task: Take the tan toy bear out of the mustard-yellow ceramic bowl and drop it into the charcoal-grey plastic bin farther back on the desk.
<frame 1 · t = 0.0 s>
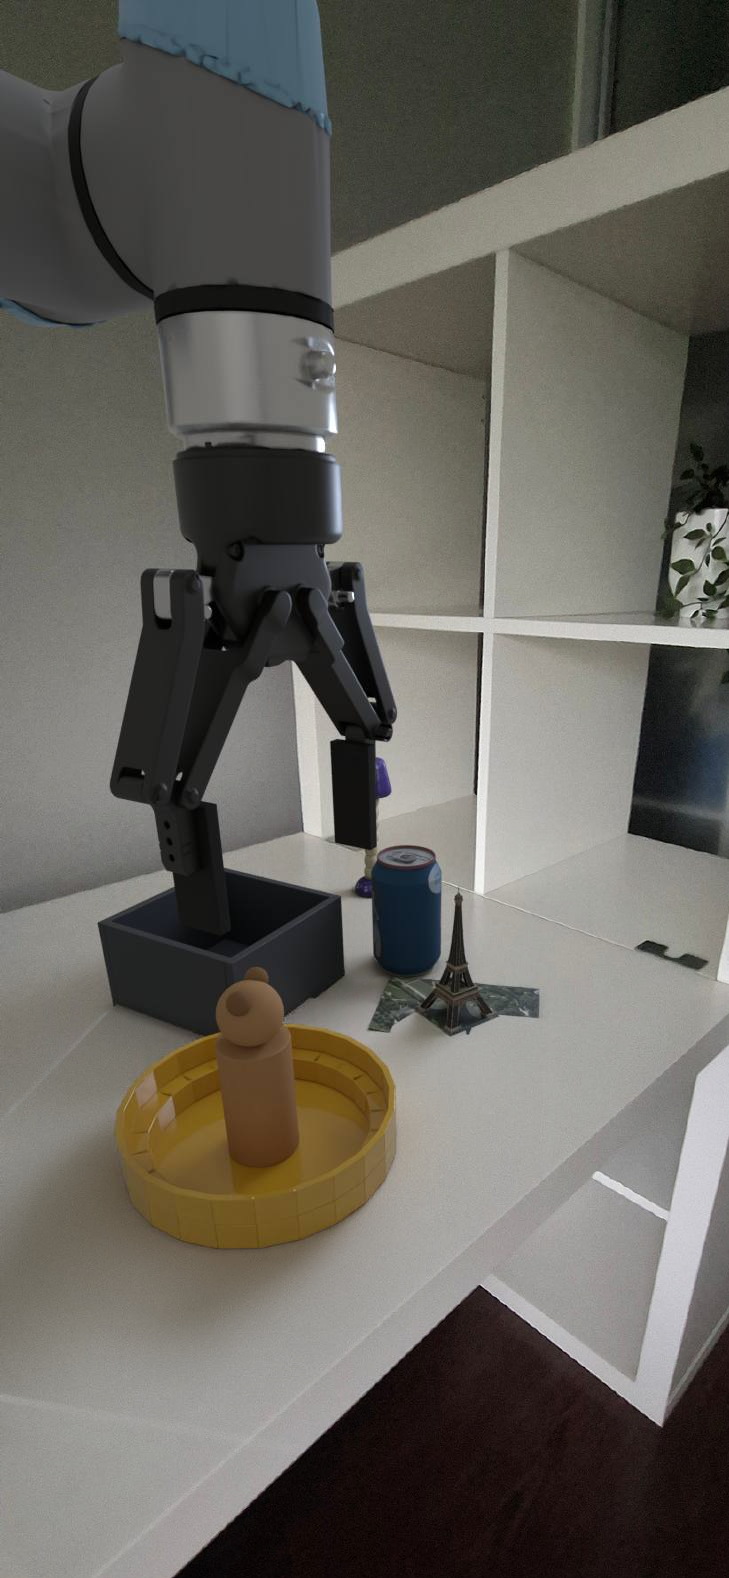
hand: (289, 881, 46), 22 cm above the table, tool pointing down, fingers open, 13 cm apart
toy bear: (264, 1143, 58), resting on bowl
soda can: (407, 965, 83), on the table
toy lamp: (373, 893, 100), on the table
eiffel tower figurine: (458, 1015, 74), on the table
bowl: (264, 1148, 58), on the table
bin: (233, 990, 78), on the table
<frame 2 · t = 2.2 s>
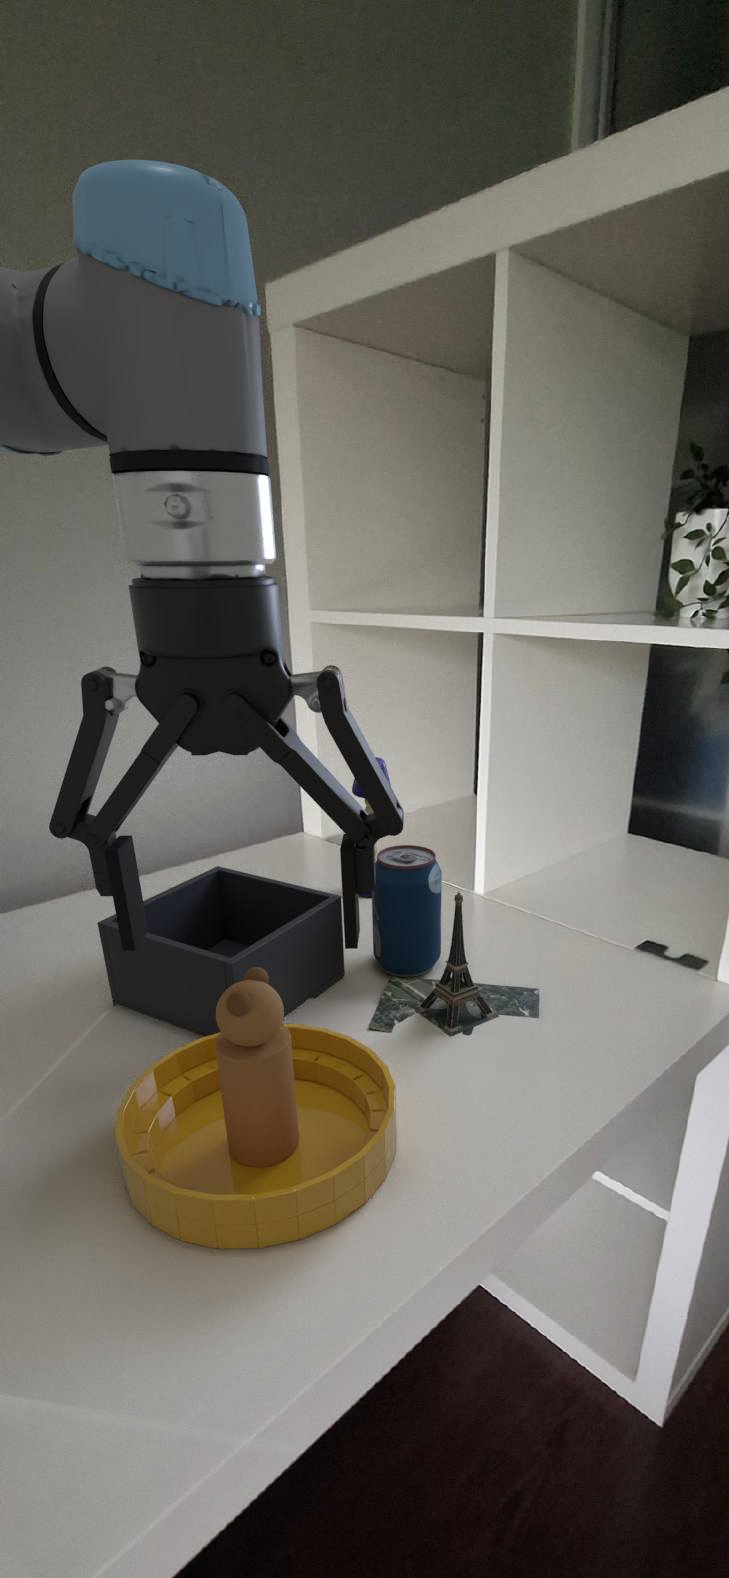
hand: (244, 940, 50), 17 cm above the table, tool pointing down, fingers open, 13 cm apart
nothing on the table moved.
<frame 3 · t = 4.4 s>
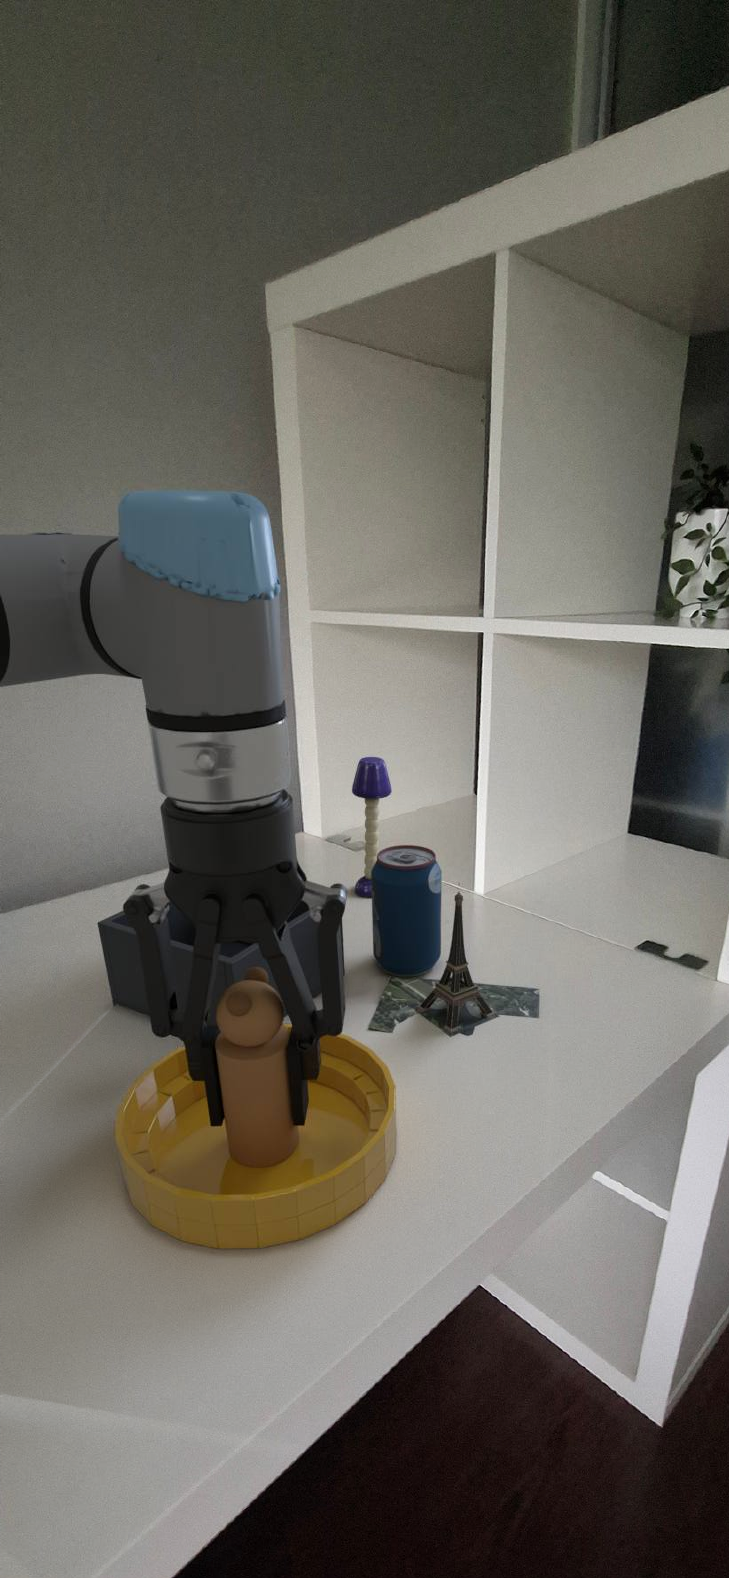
hand: (260, 1112, 56), 3 cm above the table, tool pointing down, fingers closed on toy bear, 5 cm apart
toy bear: (264, 1143, 58), point 1 cm above the table, touching bowl, gripper
everything else where it was.
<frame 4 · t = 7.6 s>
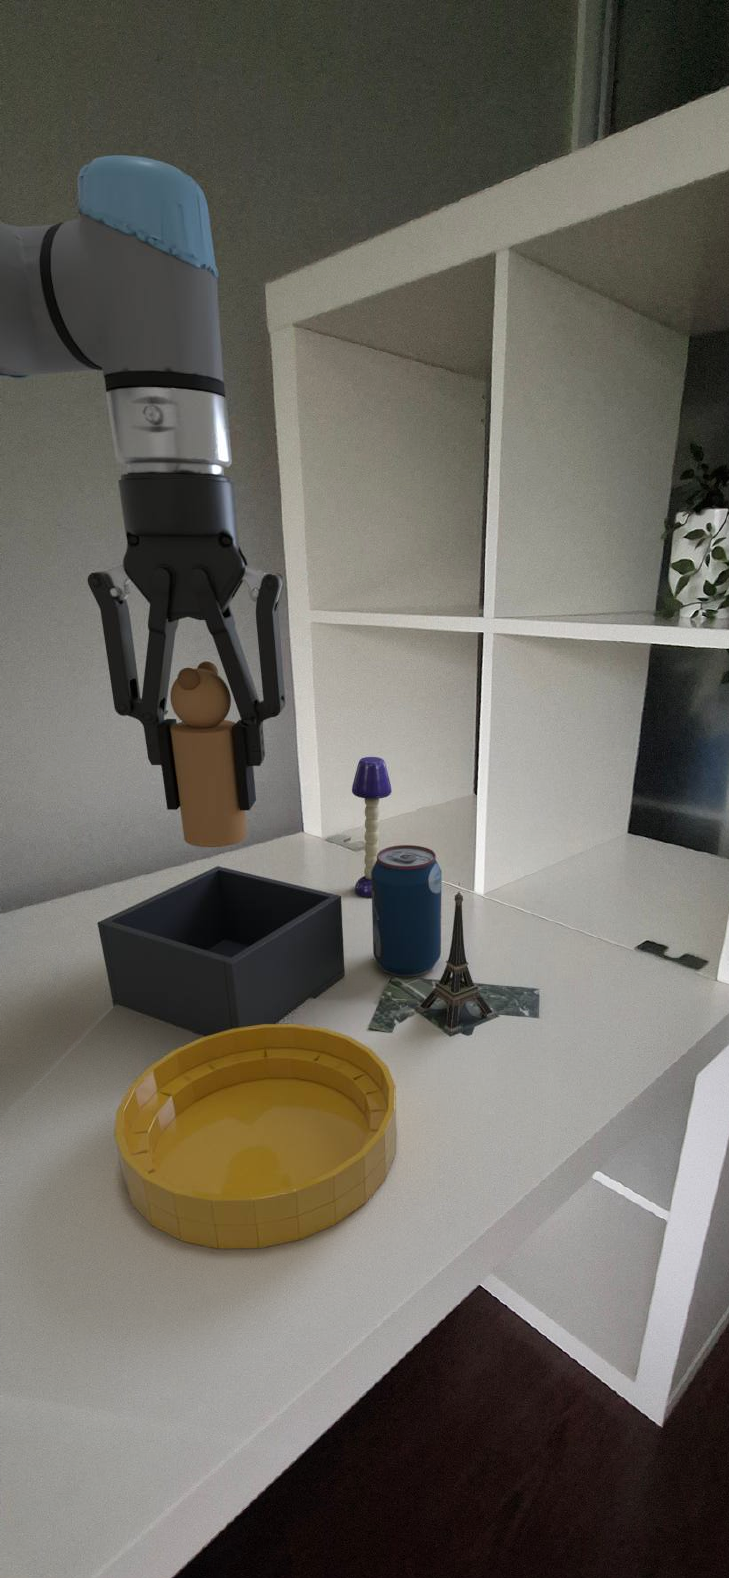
hand: (212, 804, 64), 21 cm above the table, tool pointing down, fingers closed on toy bear, 5 cm apart
toy bear: (216, 836, 65), point 18 cm above the table, touching gripper
everything else where it was.
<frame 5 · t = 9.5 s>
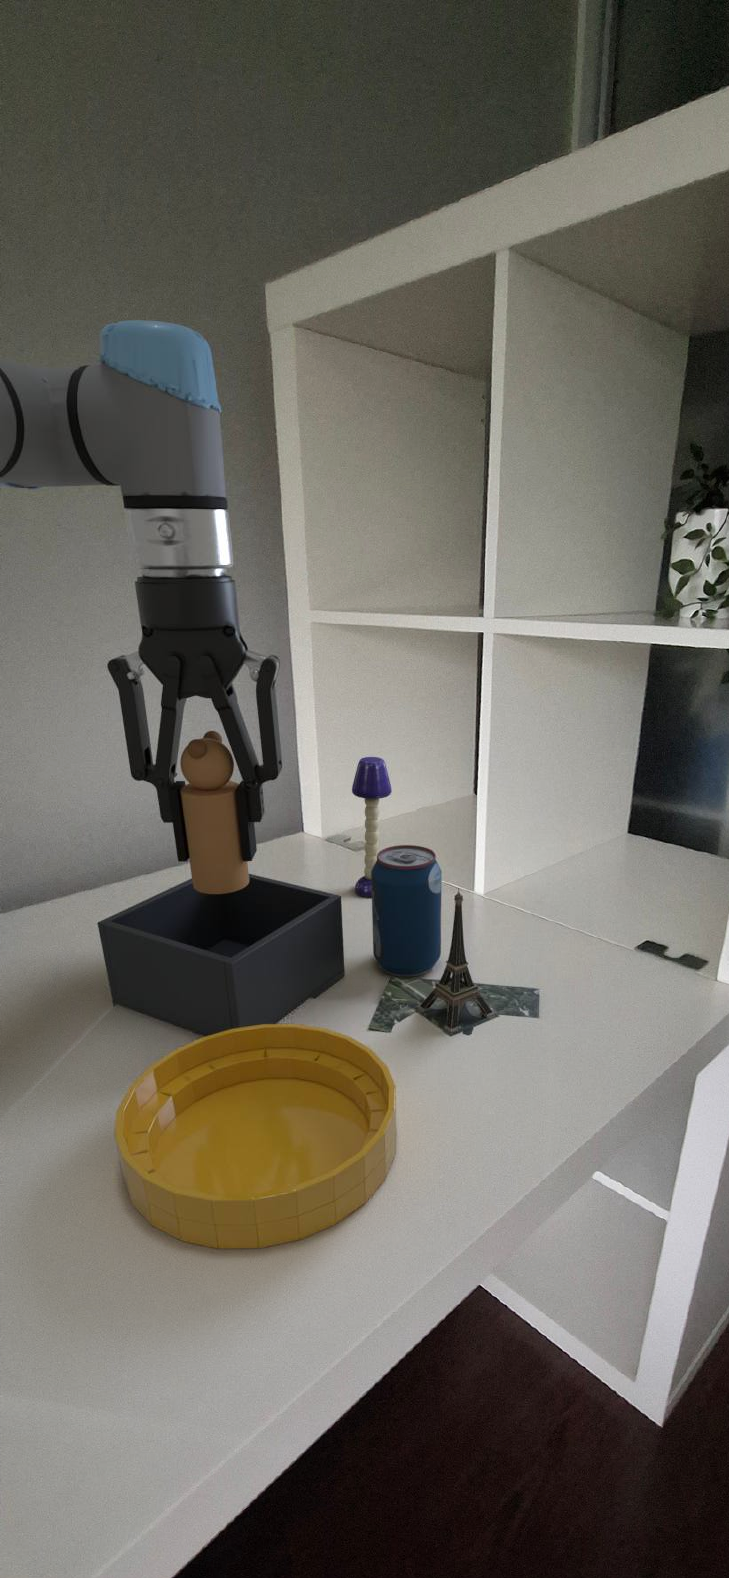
hand: (218, 855, 72), 14 cm above the table, tool pointing down, fingers closed on toy bear, 5 cm apart
toy bear: (221, 883, 73), point 11 cm above the table, touching gripper
everything else where it was.
when the fingers open (10 cm above the table, at t = 11.1 s): toy bear drops 6 cm, resting on bin.
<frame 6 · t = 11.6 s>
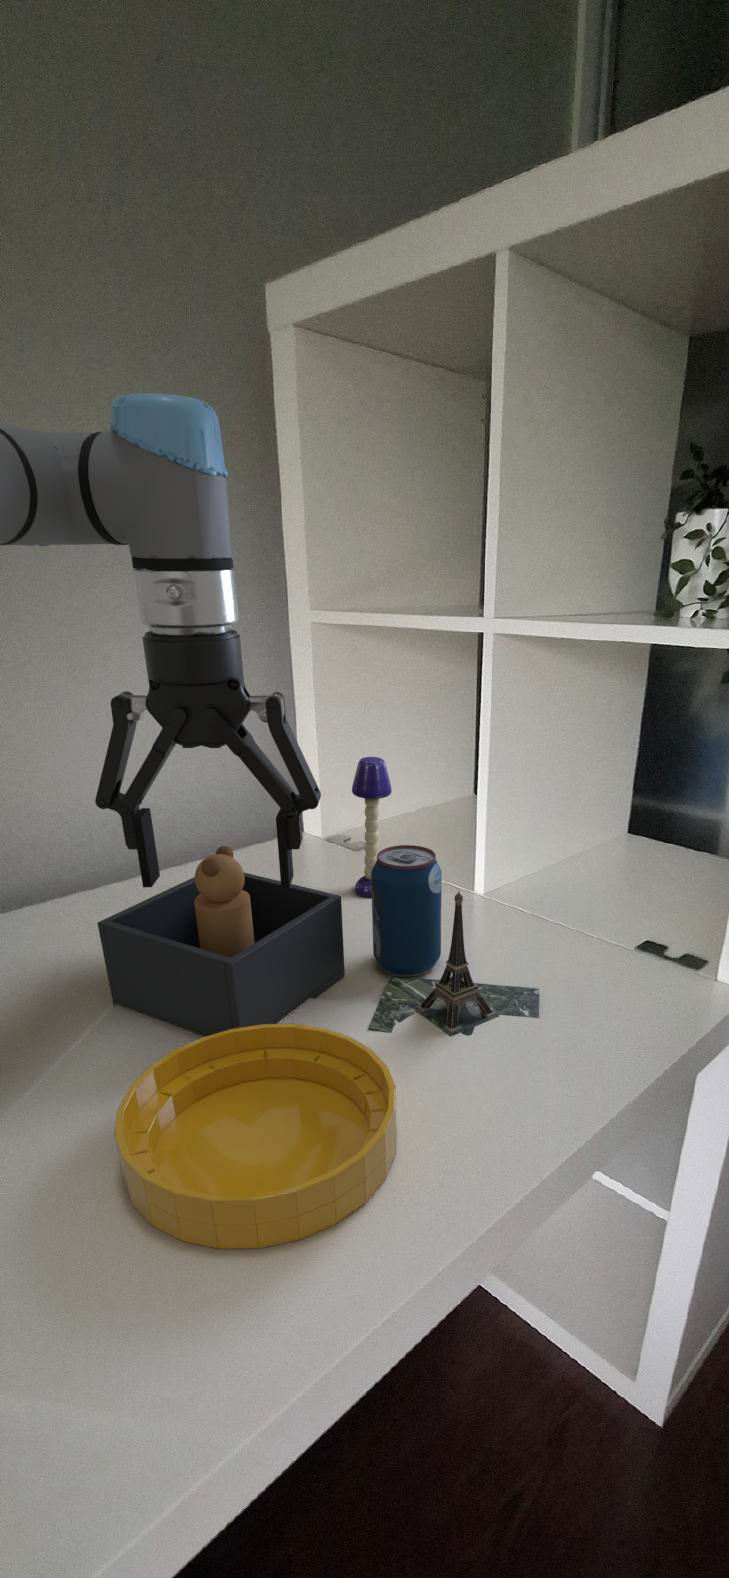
hand: (219, 881, 73), 11 cm above the table, tool pointing down, fingers open, 12 cm apart
toy bear: (232, 983, 78), point 1 cm above the table, touching bin
everything else where it was.
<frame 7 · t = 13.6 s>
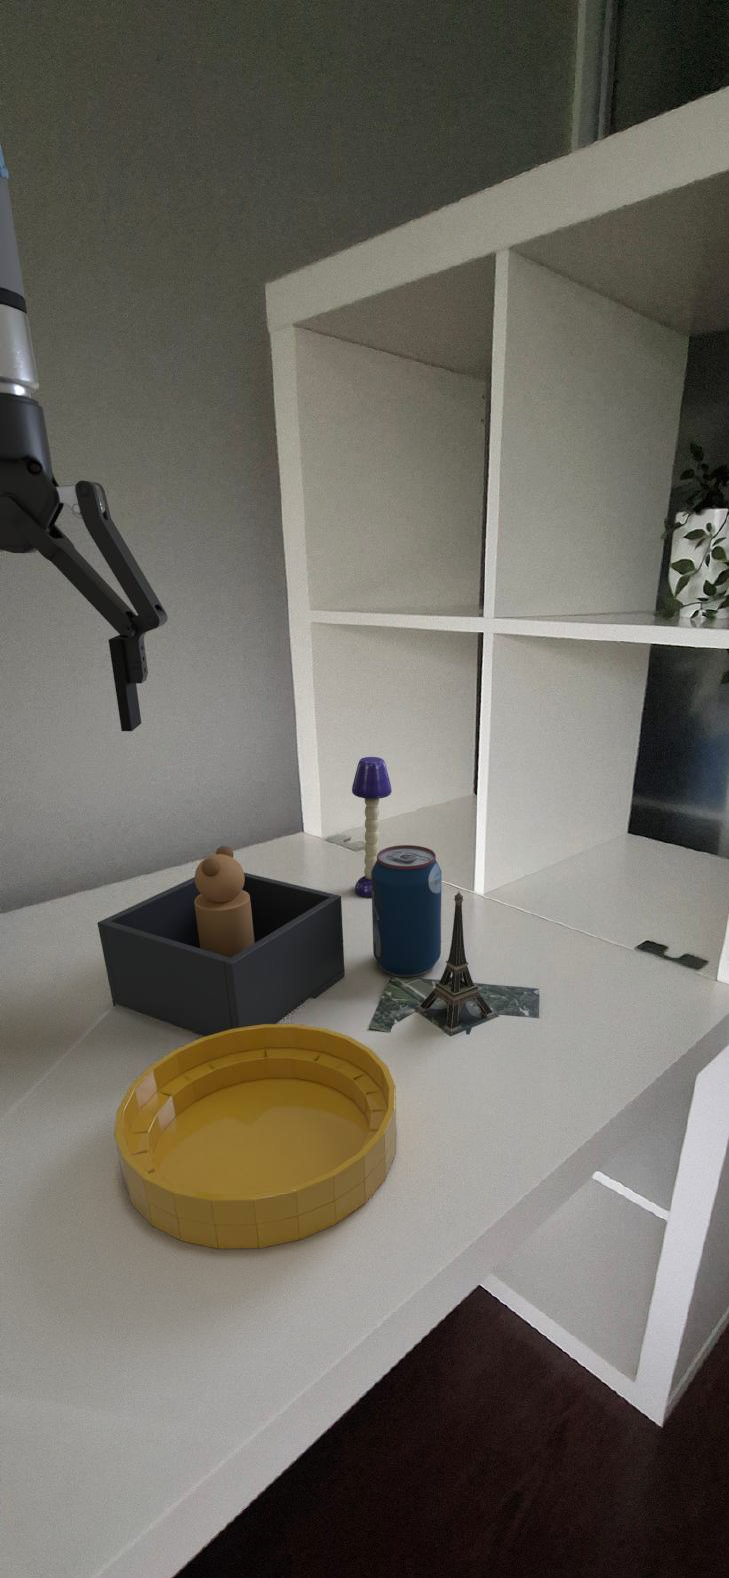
hand: (40, 726, 61), 27 cm above the table, tool pointing down, fingers open, 13 cm apart
nothing on the table moved.
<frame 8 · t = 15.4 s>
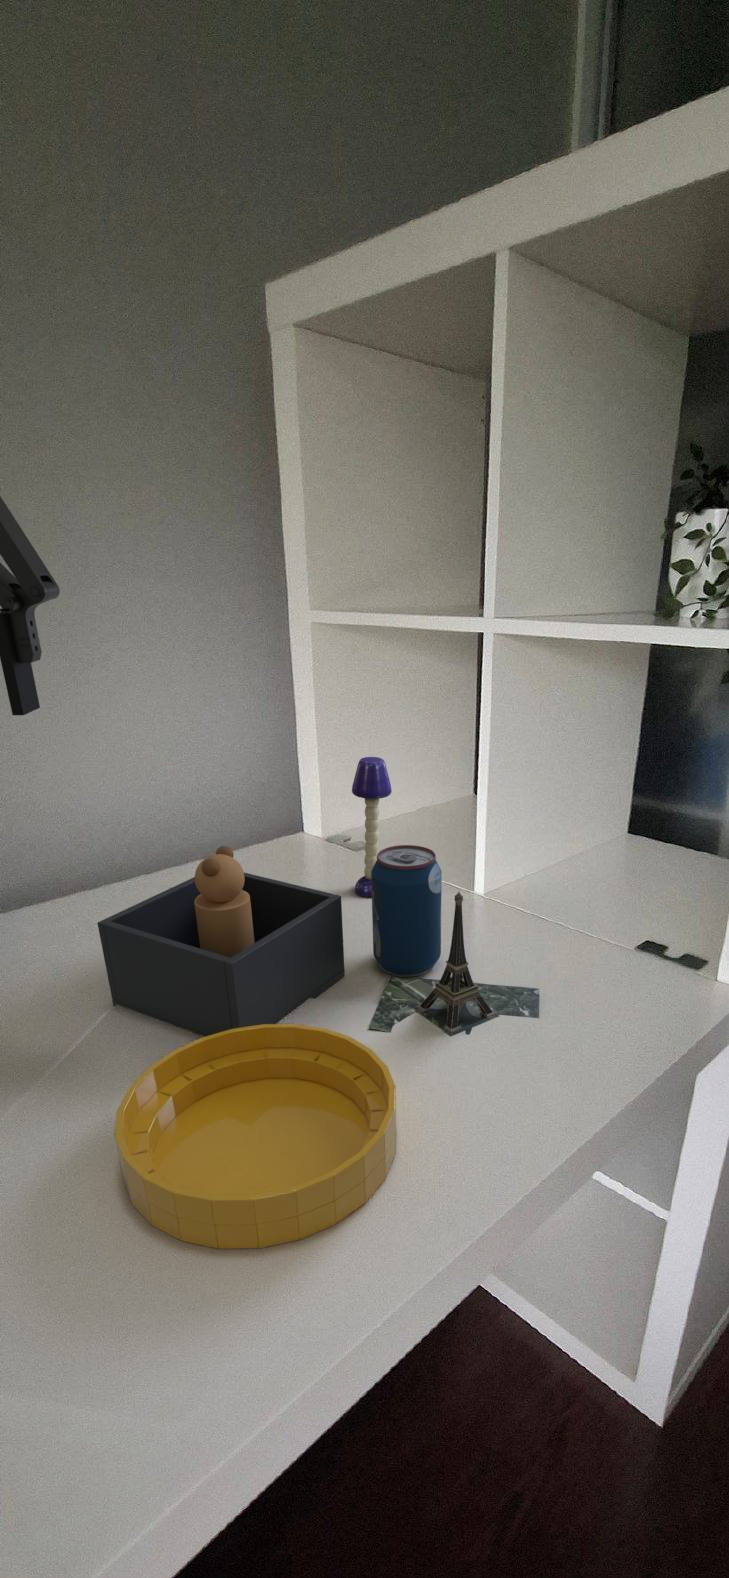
nothing on the table moved.
at the end: toy bear inside the target area in the bin (0.0 cm from its centre), point 0.8 cm above the bin's base; the gripper is holding nothing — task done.
